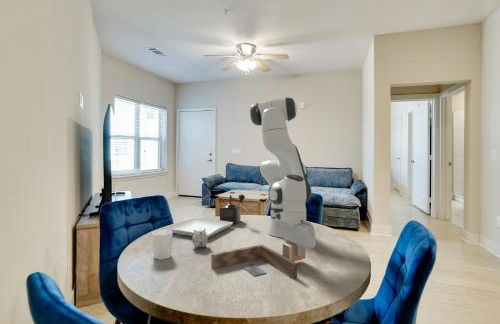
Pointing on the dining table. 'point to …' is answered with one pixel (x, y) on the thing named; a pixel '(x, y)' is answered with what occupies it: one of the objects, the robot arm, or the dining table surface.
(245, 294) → the dining table surface
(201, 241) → the game die
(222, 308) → the dining table surface
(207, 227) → the square plate
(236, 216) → the dark brown coffee grinder
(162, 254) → the white cup
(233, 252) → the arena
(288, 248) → the block
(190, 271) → the dining table surface
